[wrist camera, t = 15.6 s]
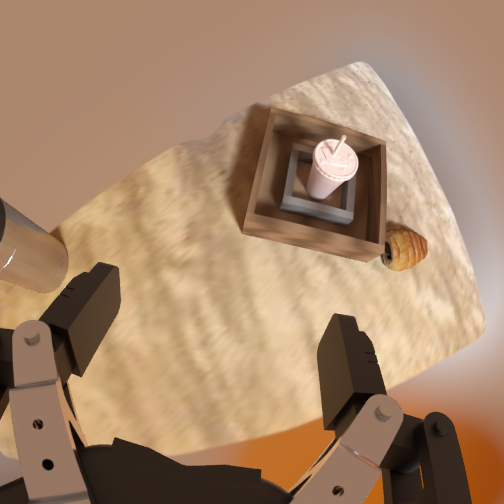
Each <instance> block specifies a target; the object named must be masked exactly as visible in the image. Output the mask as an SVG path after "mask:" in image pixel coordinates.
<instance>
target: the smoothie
mask: <svg viewBox="0 0 504 504" xmlns="http://www.w3.org/2000/svg"><path fill="white" fill-rule="evenodd" d="M345 139H346V136H345V135H343V136H342V137H341V139H340V141H339V140H335V139H326V140H323V141H321V142H320V143H319V144H318V145H317V146H316V148H315V149H314V152H313V163H312V167H311V171H310V175H309V179H308V182H307V186H306V190H307V193H308V194H309V196H310V197H312V198H313V199H316V200H322V199H325V198H326V197H327V196H328V195H329V194H330V193H331V192H333V191H334V190H335V189H336V188H337V187H338V186H339V185H341V184H342V183H343V182H344V181H346V180H349V179H350V178H352V177H353V176H354V174H355V173H356V171H357V169H358V158H357V156H356V154H355V152H354V151H353V149H352V148H351V147H350V146H348V145H347V144H346V143H344V141H345Z"/></svg>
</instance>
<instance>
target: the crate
mask: <svg viewBox="0 0 504 504" xmlns="http://www.w3.org/2000/svg"><path fill="white" fill-rule="evenodd" d="M343 135H345V136H346V139H345V141H344V143H346V144H347V145H348V146H350V147H351V148H352V149H353V151H354V152H355V154H356V156H357V158H358V169H357V171H356V173H355V174H354V176H353V177H352V178H350V179H349V180H346V181H344V182H343V183H342V184H341V185H339V186H338V187H337V188H336V189H335V190H334V191H333V192H331V193H330V194H329V195H328V196H327V197H326V198H325V199H322V200H316V199H313V198H312V197H310V196H309V194H308V193H307V190H306V186H307V182H308V179H309V175H310V171H311V167H312V163H313V152H314V149H315V148H316V146H317V145H318V144H319V143H320V142H321V141H323V140H326V139H335V140H339V141H340V139H341V137H342V136H343ZM386 204H387V164H386V141H384V140H381V139H378V138H375V137H373V136H370V135H367V134H364V133H361V132H358V131H355V130H352V129H348V128H345V127H342V126H339V125H335V124H332V123H329V122H325V121H322V120H318V119H315V118H311V117H307V116H303V115H300V114H296V113H292V112H288V111H283V110H279V109H275V108H271V111H270V115H269V119H268V123H267V127H266V132H265V136H264V140H263V144H262V148H261V152H260V157H259V161H258V165H257V169H256V174H255V178H254V182H253V186H252V191H251V195H250V199H249V203H248V208H247V212H246V216H245V221H244V226H243V232H242V234H245V235H250V236H254V237H259V238H263V239H268V240H272V241H276V242H281V243H285V244H290V245H294V246H298V247H303V248H307V249H311V250H316V251H320V252H324V253H328V254H333V255H337V256H341V257H345V258H350V259H354V260H358V261H362V262H366V263H367V262H369V261H370V260H372V259H374V258H376V257H377V256H379V255H381V254H383V253H384V251H385V233H386Z"/></svg>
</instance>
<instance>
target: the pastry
mask: <svg viewBox="0 0 504 504" xmlns="http://www.w3.org/2000/svg"><path fill="white" fill-rule="evenodd" d="M427 252H428V249H427V240H426V239H424V238H423V236H421V235H419V234H418V233H416V232H412V231H406V230H399V231H398V230H391V231H389V232H386V233H385V251H384V253H383V259H384V264H385V265H386V266H387V267H388V268H389V269H391V270H396V271H402V270H405V269H408V268H412V267H413V266H415V265H416V264H417V263H419V262H420V261H421V260H422V259H424V258H425V257H426V255H427Z"/></svg>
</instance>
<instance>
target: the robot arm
mask: <svg viewBox="0 0 504 504" xmlns="http://www.w3.org/2000/svg"><path fill="white" fill-rule="evenodd" d="M67 268H68V255H67V251H66V248H65V247H64V245H63V244H62V243H61V242H60V241H59V240H58V239H56V238H55V237H53V236H52V235H50V234H49V233H48V232H46V231H45V230H43V229H42V228H41V227H39V226H38V225H36V224H35V223H34V222H32V221H31V220H29V219H28V218H27V217H25V216H24V215H23V214H21V213H20V212H18V211H17V210H16V209H15V208H13V207H12V206H10V205H9V204H8V203H6V202H5V201H4V200H2V199H1V198H0V279H1V280H4V281H7V282H10V283H13V284H16V285H19V286H22V287H25V288H28V289H31V290H34V291H37V292H40V293H47V292H51V291H53V290H54V289H56V288H57V287H58V286H59V285H60V284H61V283H62V281H63V279H64V277H65V275H66V272H67ZM120 303H121V295H120V277H119V268H118V267H117V266H114V265H110V264H106V263H102V262H98V263H97V264H96V265H95V266H94V267H93V269H92V270H91V271H90V272H89V273H87V272H83V273H81V274H80V275H78V276H76V277H74V278H73V279H72V280H71V281H70V282H69V284H68V285H67V286H66V288H64V289H63V291H62V292H61V293H60V295H58V297H57V298H56V299H55V300H54V301H53V303H52V304H51V305H50V306H49V307H48V309H47V310H46V311H45V312H44V314H43V315H42V316H41V317H40V319H39V320H30V321H26V322H24V323H22V324H20V325H19V326H18V327H17V328H16V329H15V330H12V329H3V328H0V419H1V417H2V415H3V413H4V411H5V409H6V407H7V405H8V403H9V401H10V409H11V417H12V424H13V430H14V436H15V442H16V447H17V452H18V457H19V461H20V466H21V470H22V474H23V477H21V478H19V479H16V480H14V481H12V482H10V483H8V484H5V485H3V486H0V504H363V502H364V501H365V499H366V498H367V496H368V494H369V493H370V491H371V490H372V488H373V486H374V485H375V483H376V481H377V480H378V478H379V476H380V474H381V472H382V478H383V490H384V504H472V502H471V496H470V491H469V486H468V481H467V476H466V471H465V466H464V462H463V458H462V454H461V450H460V446H459V442H458V439H457V434H456V431H455V427H454V425H453V423H452V421H451V420H450V419H449V418H448V417H447V416H446V415H444V414H442V413H439V412H432V413H430V414H428V415H427V416H426V417H425V418H424V419H420V418H416V417H413V416H410V415H406V414H404V413H403V411H402V408H401V406H400V405H399V404H398V402H396V401H395V400H394V399H393V398H391V397H389V396H387V393H386V389H385V385H384V382H383V378H382V374H381V371H380V367H379V364H378V360H377V357H376V355H375V350H374V347H373V344H372V341H371V340H370V339H369V337H368V336H367V335H366V333H365V332H363V331H359V329H358V326H357V322H356V319H355V317H354V316H348V315H342V314H336V313H335V314H334V315H333V316H332V318H331V320H330V322H329V324H328V326H327V328H326V330H325V332H324V334H323V336H322V339H321V341H320V343H319V346H318V350H317V362H318V371H319V381H320V390H321V401H322V411H323V422H324V430H333V431H335V435H336V436H335V438H334V439H333V441H332V442H331V443H330V444H329V446H328V447H327V448H326V449H325V451H324V452H323V453H322V454H321V455H320V457H319V458H318V459H317V460H316V461H315V463H314V464H313V465H312V466H311V468H310V469H309V470H308V471H307V472H306V473H305V474H304V475H303V477H302V478H301V479H300V480H299V481H298V482H297V483H296V484H295V485H294V486H293V487H292V488H291V489H290V490H289V491H288V492H287V491H285V490H284V489H283V488H281V487H280V486H278V485H276V484H274V483H272V482H270V481H268V480H266V479H263V478H261V469H252V468H243V467H237V466H230V465H207V466H186V465H182V464H180V463H178V462H175V461H173V460H172V459H170V458H168V457H166V456H164V455H162V454H160V453H158V452H156V451H154V450H152V449H150V448H148V447H144V446H141V445H138V444H135V443H131V442H128V441H125V440H122V439H119V438H116V437H115V438H114V441H113V444H112V445H108V444H100V445H91V446H88V444H87V442H86V439H85V437H84V434H83V432H82V430H81V427H80V424H79V421H78V417H77V414H76V410H75V406H74V403H73V399H72V395H71V391H70V387H69V383H68V379H69V377H70V375H71V373H72V374H75V375H77V376H80V377H82V376H83V374H84V372H85V370H86V368H87V366H88V365H89V363H90V361H91V359H92V357H93V356H94V354H95V352H96V350H97V348H98V347H99V345H100V343H101V341H102V340H103V338H104V336H105V334H106V333H107V331H108V329H109V328H110V326H111V324H112V322H113V321H114V319H115V317H116V316H117V314H118V311H119V308H120ZM420 466H421V471H422V478H423V485H424V488H423V487H422V480H421V474H420ZM381 468H382V469H381Z"/></svg>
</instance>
